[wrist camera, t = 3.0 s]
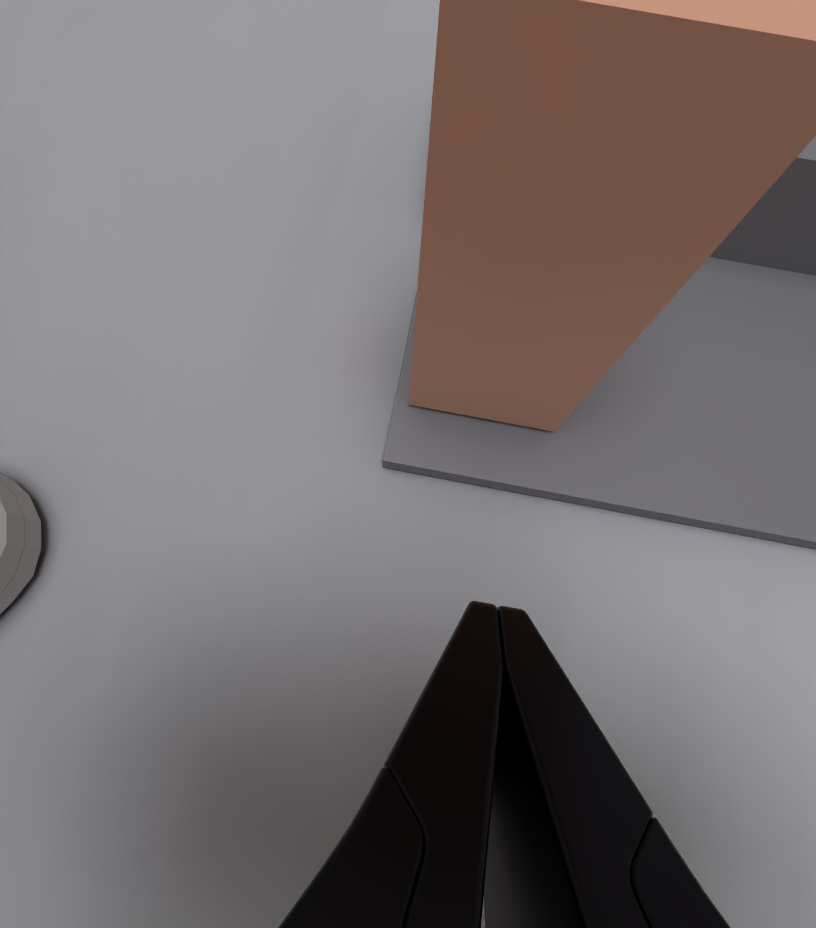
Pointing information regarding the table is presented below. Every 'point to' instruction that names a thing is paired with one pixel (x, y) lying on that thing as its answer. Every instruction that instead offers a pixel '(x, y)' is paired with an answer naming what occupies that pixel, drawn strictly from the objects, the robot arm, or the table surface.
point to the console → (676, 398)
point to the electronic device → (16, 540)
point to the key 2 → (589, 181)
